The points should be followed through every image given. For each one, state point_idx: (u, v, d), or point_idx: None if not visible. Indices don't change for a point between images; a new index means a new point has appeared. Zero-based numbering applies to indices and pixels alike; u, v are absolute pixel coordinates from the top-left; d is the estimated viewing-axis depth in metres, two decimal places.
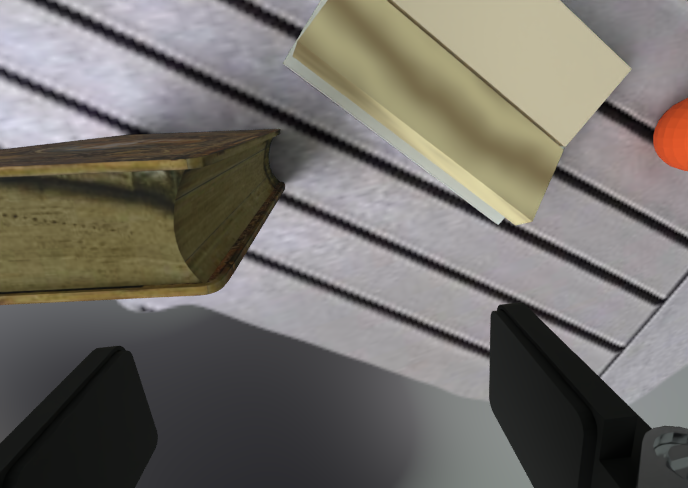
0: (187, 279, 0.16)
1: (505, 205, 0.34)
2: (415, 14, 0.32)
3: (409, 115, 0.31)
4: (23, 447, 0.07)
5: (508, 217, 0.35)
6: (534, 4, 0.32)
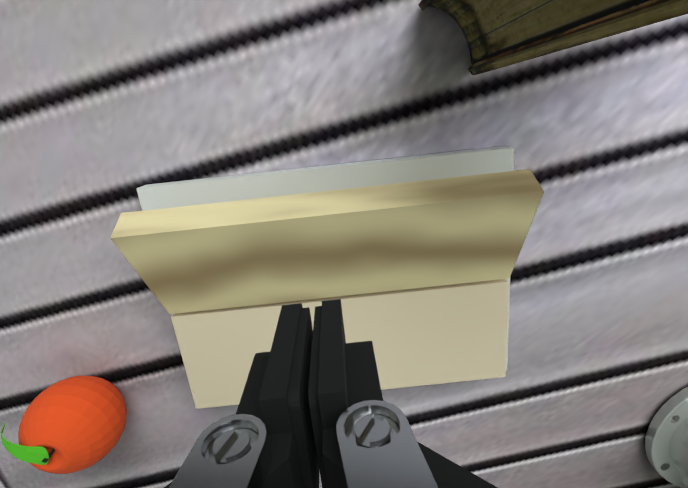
0: None
1: (160, 226, 0.22)
2: (421, 294, 0.28)
3: (363, 221, 0.22)
4: (289, 372, 0.08)
5: (139, 214, 0.23)
6: None
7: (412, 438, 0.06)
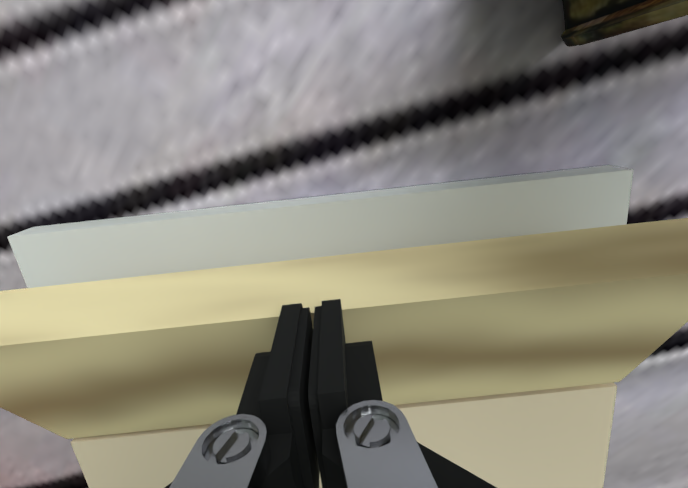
0: None
1: None
2: (476, 406, 0.17)
3: (390, 319, 0.12)
4: (289, 372, 0.08)
5: None
6: None
7: (411, 438, 0.06)
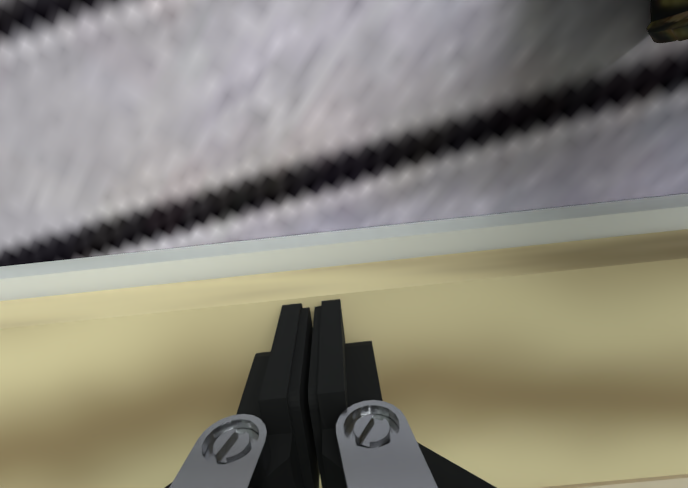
0: None
1: (14, 319, 0.11)
2: None
3: (408, 312, 0.11)
4: (290, 372, 0.08)
5: None
6: None
7: (412, 438, 0.06)
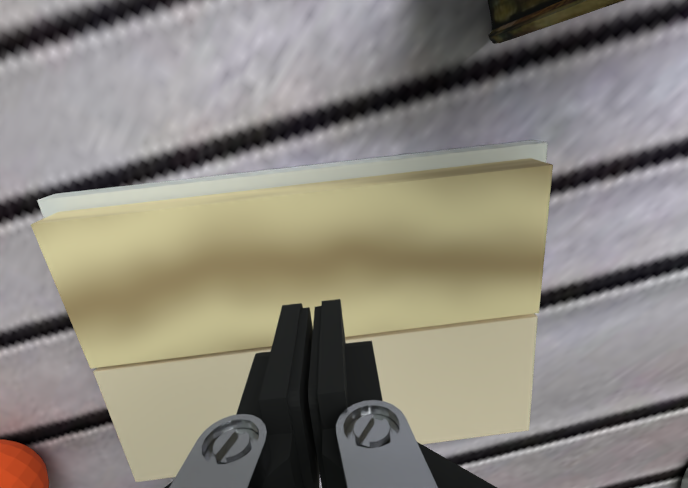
0: None
1: (96, 214, 0.18)
2: (426, 335, 0.21)
3: (341, 205, 0.18)
4: (290, 372, 0.08)
5: (78, 210, 0.19)
6: None
7: (411, 438, 0.06)
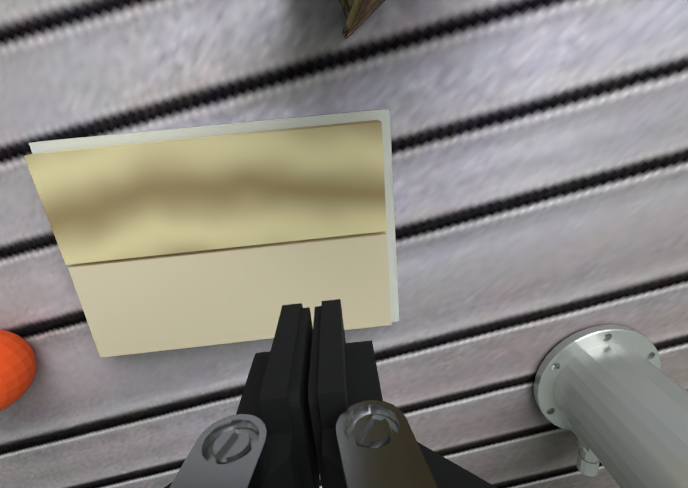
0: None
1: (69, 151, 0.27)
2: (307, 246, 0.30)
3: (237, 147, 0.27)
4: (290, 372, 0.08)
5: (57, 150, 0.28)
6: (224, 328, 0.32)
7: (412, 438, 0.06)
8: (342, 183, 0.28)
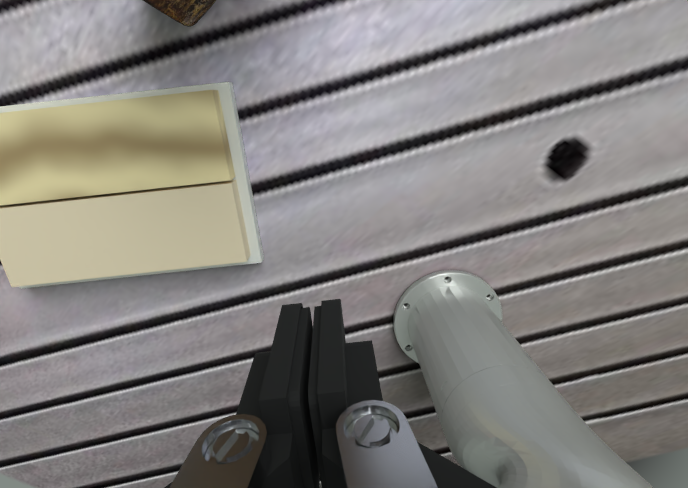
0: None
1: None
2: (168, 193, 0.37)
3: (101, 111, 0.35)
4: (289, 372, 0.08)
5: None
6: (109, 263, 0.39)
7: (411, 438, 0.06)
8: (188, 140, 0.36)
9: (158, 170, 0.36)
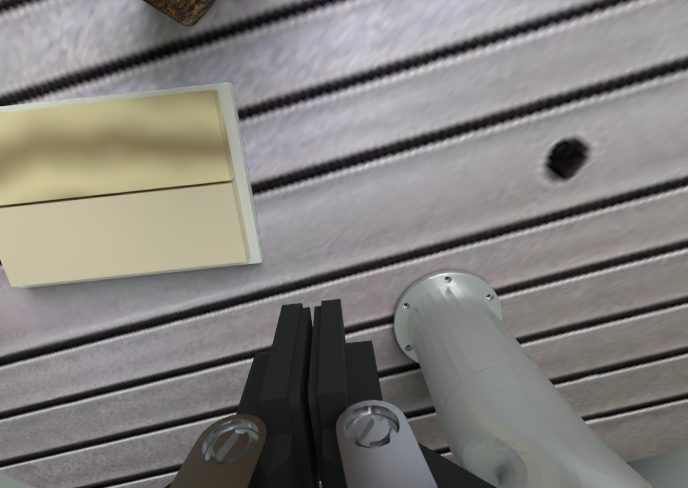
0: None
1: None
2: (168, 193, 0.37)
3: (101, 111, 0.35)
4: (290, 372, 0.08)
5: None
6: (109, 263, 0.39)
7: (411, 438, 0.06)
8: (188, 140, 0.36)
9: (158, 170, 0.36)
